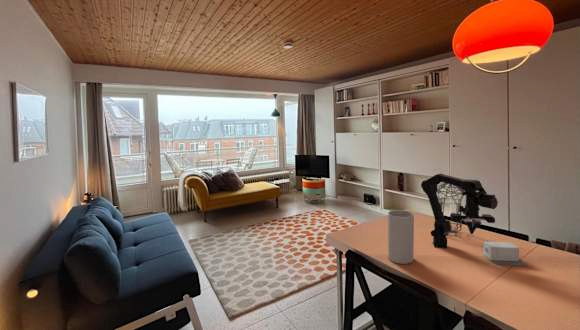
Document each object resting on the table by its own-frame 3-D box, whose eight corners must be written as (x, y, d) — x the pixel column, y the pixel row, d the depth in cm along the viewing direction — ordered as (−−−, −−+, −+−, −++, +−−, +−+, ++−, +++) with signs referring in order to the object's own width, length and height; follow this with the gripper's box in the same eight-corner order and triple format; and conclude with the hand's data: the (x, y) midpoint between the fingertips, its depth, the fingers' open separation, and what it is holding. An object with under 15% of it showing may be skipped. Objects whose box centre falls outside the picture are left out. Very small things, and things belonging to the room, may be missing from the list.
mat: (495, 264, 135) (495, 262, 135) (486, 254, 146) (486, 253, 146) (526, 266, 132) (526, 265, 131) (515, 256, 142) (515, 255, 142)
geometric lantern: (463, 231, 179) (465, 179, 174) (463, 240, 166) (465, 184, 161) (436, 227, 188) (437, 177, 183) (434, 235, 175) (435, 182, 169)
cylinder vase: (402, 267, 137) (402, 218, 134) (383, 257, 148) (382, 212, 145) (418, 260, 143) (419, 214, 140) (399, 251, 154) (399, 208, 151)
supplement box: (490, 260, 138) (519, 261, 135) (490, 246, 137) (519, 247, 134) (483, 254, 145) (510, 255, 142) (483, 241, 144) (510, 241, 142)
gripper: (487, 201, 145) (486, 229, 147) (447, 200, 150) (447, 227, 152) (496, 206, 134) (494, 237, 136) (453, 205, 140) (452, 234, 142)
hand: (471, 233), depth 142 cm, fingers closed
